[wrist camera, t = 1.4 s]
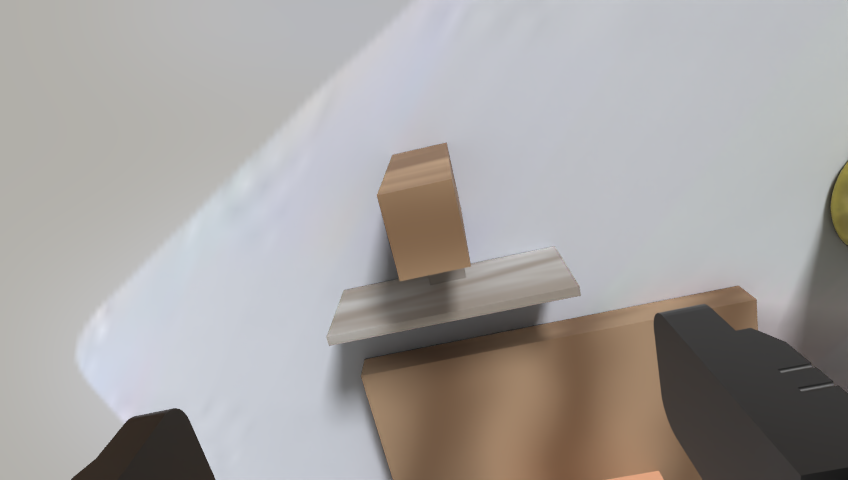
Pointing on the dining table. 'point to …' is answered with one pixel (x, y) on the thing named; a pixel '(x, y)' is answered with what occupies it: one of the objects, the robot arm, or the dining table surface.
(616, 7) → the dining table surface
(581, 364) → the board
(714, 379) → the robot arm
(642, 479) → the tile
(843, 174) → the vase
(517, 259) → the wooden stamp block
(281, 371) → the dining table surface
